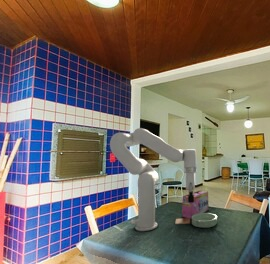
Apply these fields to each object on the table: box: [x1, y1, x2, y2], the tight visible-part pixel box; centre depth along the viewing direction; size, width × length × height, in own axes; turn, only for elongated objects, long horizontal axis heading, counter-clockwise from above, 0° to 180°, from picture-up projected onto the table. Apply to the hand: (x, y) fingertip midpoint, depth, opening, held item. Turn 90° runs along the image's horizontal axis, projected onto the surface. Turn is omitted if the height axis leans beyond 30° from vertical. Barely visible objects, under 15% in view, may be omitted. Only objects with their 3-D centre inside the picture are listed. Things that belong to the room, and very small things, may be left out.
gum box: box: [181, 190, 210, 220], centre depth 142 cm, size 24×8×14 cm, turn 148°
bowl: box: [191, 212, 218, 229], centre depth 121 cm, size 15×15×4 cm
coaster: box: [174, 217, 191, 225], centre depth 125 cm, size 9×9×1 cm
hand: (191, 201), depth 117 cm, fingers closed on eraser, 3 cm apart
